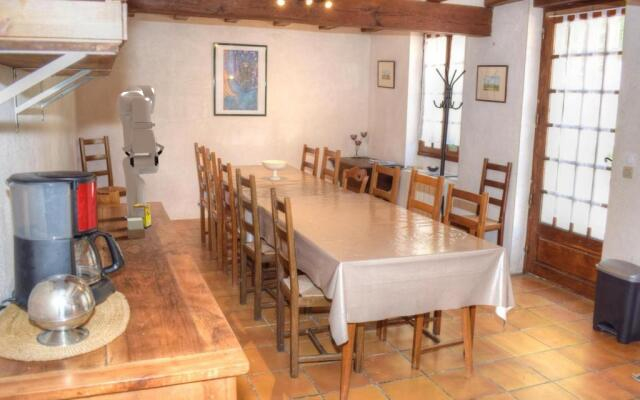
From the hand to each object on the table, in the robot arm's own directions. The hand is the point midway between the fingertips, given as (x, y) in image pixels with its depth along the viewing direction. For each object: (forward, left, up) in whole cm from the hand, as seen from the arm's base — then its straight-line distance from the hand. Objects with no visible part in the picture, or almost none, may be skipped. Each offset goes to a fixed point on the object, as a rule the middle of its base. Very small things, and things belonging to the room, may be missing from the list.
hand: (144, 166), depth 250 cm
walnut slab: (-3, -5, -32) cm, 32 cm away
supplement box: (-21, 0, -32) cm, 38 cm away
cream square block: (-3, -5, -28) cm, 28 cm away
